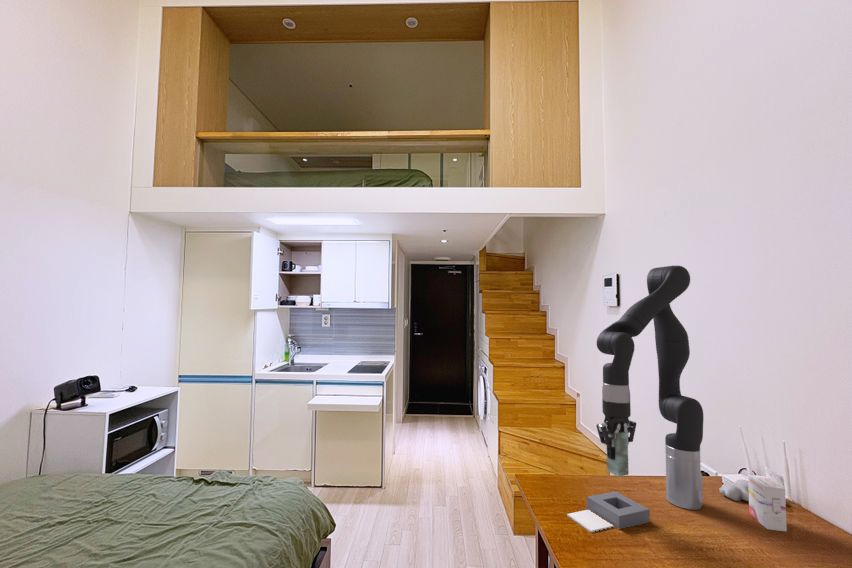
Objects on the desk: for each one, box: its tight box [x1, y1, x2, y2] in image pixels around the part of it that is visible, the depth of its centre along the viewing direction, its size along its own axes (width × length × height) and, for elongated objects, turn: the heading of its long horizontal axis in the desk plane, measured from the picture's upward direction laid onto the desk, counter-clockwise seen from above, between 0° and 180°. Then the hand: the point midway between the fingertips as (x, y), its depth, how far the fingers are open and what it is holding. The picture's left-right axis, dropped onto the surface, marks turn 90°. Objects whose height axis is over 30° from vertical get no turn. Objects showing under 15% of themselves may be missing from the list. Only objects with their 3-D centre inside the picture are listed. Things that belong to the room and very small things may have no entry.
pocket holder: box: [586, 490, 650, 530], centre depth 111 cm, size 12×12×4 cm
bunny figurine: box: [718, 479, 749, 502], centre depth 125 cm, size 10×5×15 cm
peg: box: [606, 432, 629, 477], centre depth 113 cm, size 4×4×12 cm
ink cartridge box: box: [747, 465, 788, 532], centre depth 110 cm, size 9×5×15 cm, turn 168°
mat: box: [566, 509, 614, 534], centre depth 107 cm, size 8×9×1 cm
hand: (617, 457), depth 112 cm, fingers closed on peg, 4 cm apart
